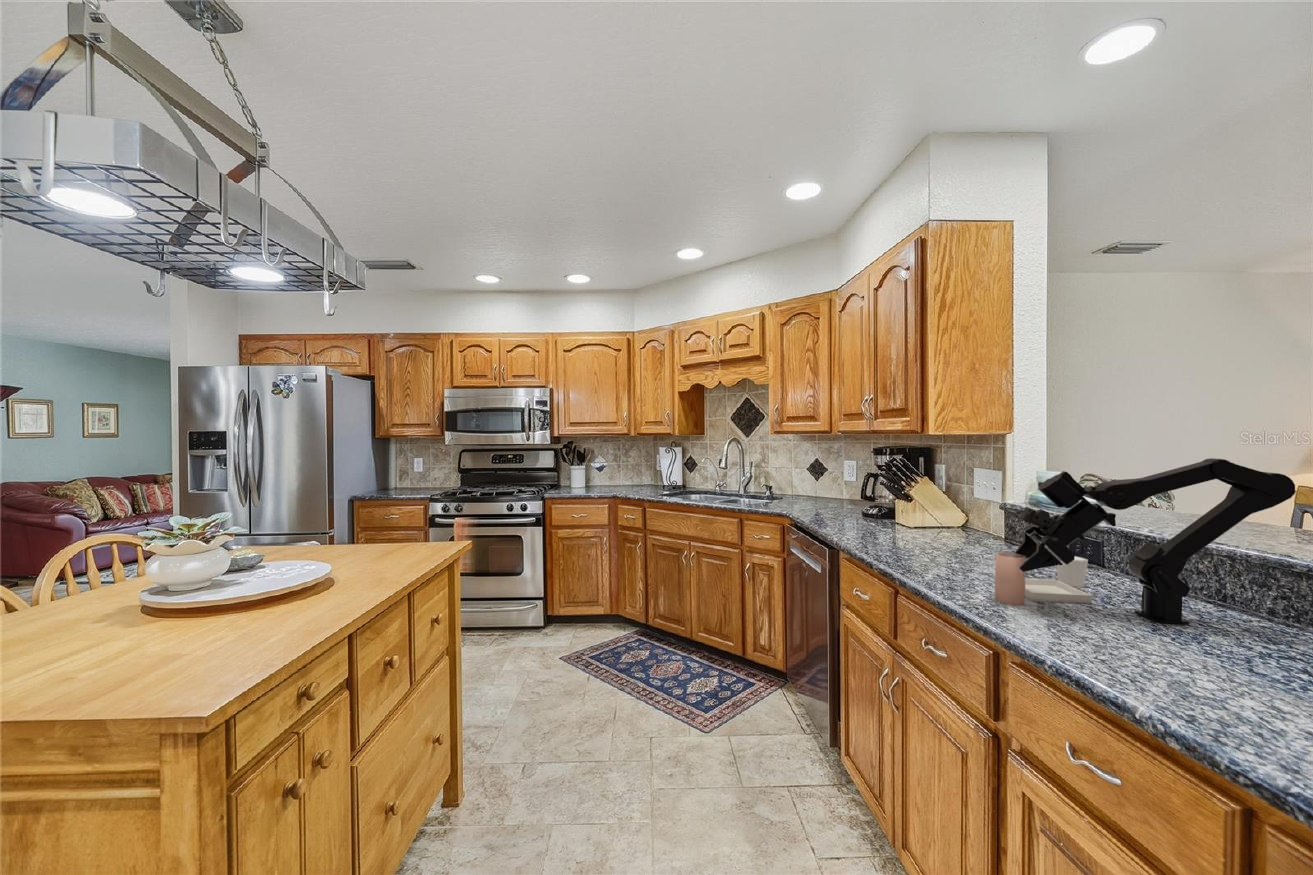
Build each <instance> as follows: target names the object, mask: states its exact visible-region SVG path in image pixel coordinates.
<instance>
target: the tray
mask: <svg viewBox="0 0 1313 875" xmlns="http://www.w3.org/2000/svg"><path fill="white" fill-rule="evenodd" d="M1025 599H1028V600H1029V601H1030V602H1031V601H1032V602H1041V603H1058V604H1059V603H1061V604H1062V603H1063V604H1084V605H1085V604H1088V605H1092V600H1093V596H1092V595H1091V594H1090V593H1087V592H1085V591H1082V590H1080V589H1078V588H1077V587H1076V588H1075V587H1074V586H1069V585H1067V584H1064V583H1062V582H1060V581H1058V579H1044V578H1043V579H1041V578H1025Z"/></svg>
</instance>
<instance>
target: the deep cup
mask: <svg viewBox="0 0 1313 875" xmlns="http://www.w3.org/2000/svg"><path fill="white" fill-rule="evenodd" d="M1026 560H1027V559H1026V556H1024V555H1020V554H1016V553H1015V552H1009V551H1007V552H1006V551H1005V552H1003V551H1000V552H999V551H998V552H995V568H994V570H995V571H994V572H995V573H994V574H995V575H994V600H995V602H999V603H1001V604H1005V605H1010V606H1025V604H1026V597H1025V579H1026V574H1027V573H1026V572H1027V571H1025V572H1023V571H1022V570H1021V569H1020V566H1021V565H1022V564H1023V563H1024V562H1025V561H1026Z"/></svg>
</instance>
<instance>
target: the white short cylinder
mask: <svg viewBox="0 0 1313 875" xmlns="http://www.w3.org/2000/svg"><path fill="white" fill-rule="evenodd" d="M1060 562H1061V563H1062V564H1063V565H1056V572H1057V573H1056V574H1057V580H1058V581H1060V582H1062V583H1064V584H1067V585H1069V586H1071V587H1073V588H1075V587H1076V588H1079V587H1080V588H1083V587H1085V584H1086V583H1085V582H1086V576H1087V570H1088V563H1089V559H1088V558H1084V557H1082V556H1076V555H1075V558H1074V560H1073V561H1072V562H1070V563H1069V564H1068V565H1066V564H1065V563H1063V562H1062V561H1060Z"/></svg>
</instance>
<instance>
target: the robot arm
mask: <svg viewBox="0 0 1313 875" xmlns="http://www.w3.org/2000/svg"><path fill="white" fill-rule="evenodd" d="M1214 480H1218V481H1220V482H1222V483H1224V484H1227V485H1230V487H1229V489H1228V492H1227V493H1226V496H1225V497H1224V499H1223V500H1222V501H1221V502H1219V503H1218V504H1216V505H1215V506H1214V507H1212V508H1211V509H1210V510H1208V511H1207V512H1205V513H1204V514H1203V515H1202V516H1200V517H1199V518H1198V519H1196V520H1195V521H1193V522H1192V523H1191V524H1189V525H1187V526H1186V527H1185V528H1184V529H1182V530H1181V531H1180V532H1178V533H1177V534H1176V535H1174V536H1173V537H1172V538H1170V539H1168V540H1167V541H1166V542H1163V543H1162V544H1158V545H1156V544H1153V543H1151V542H1147V541H1146V543H1145V544H1143V545H1142V547H1141V548H1139V549H1138V550H1136V551H1134V552H1131V555H1133V556H1131V558H1130V559H1129V561H1128V569H1129V571H1130V573H1132V574H1133V576H1135V577H1137V579H1138V582H1139V584H1140V585H1142V591H1141V609H1139V610H1138V609H1135V610H1134V613H1135V614H1137V615H1139V616H1142V617H1144V618H1146V619H1149V620H1150V621H1154V622H1156V623H1161V624H1162V623H1164V624H1186V625H1189V624H1190V622H1191V621H1190V620H1187V619H1184V618H1183V598H1187V596H1188V594H1189V593H1190V590H1191V588H1190V586H1189V585H1187V584H1186V582H1184V581H1183V580H1181V579H1180V578H1179V576H1180V575H1181V574H1182V573H1183V571H1184V569H1185V567H1186V565H1187V562H1189V561H1188V560H1190V559H1191V558H1192V557H1193V556H1194V555H1196V554H1197V553H1199V552H1201V551H1202V550H1203V549H1204V548H1206V547H1207V546H1209V545H1210V544H1211V543H1213V542H1215V541H1216V540H1217V539H1219V538H1220V537H1221V536H1222V535H1224V534H1225V533H1226V532H1228V531H1229V530H1231V529H1232V528H1233V527H1235V526H1236V525H1238V524H1239V523H1241V522H1242V521H1243V520H1245V519H1246V518H1247V517H1249V516H1250V515H1253V514H1255V513H1259V512H1261V511H1265V510H1267V509H1271V508H1275V507H1276V506H1278V505H1280V504H1282V503H1284V502H1286V501H1287V500H1290V499H1291V498H1292V497H1293V496H1294V495H1295V494H1296V493H1297V490H1296V484H1295V482H1294V481H1293V479H1292V478H1291V477H1289V476H1287V475H1286V474H1283V473H1278V472H1277V473H1276V472H1268V471H1260V470H1258V469H1257V470H1256V469H1254V468H1250V467H1248V466H1247V467H1246V466H1244V465H1239V464H1237V463H1234V462H1231V461H1230V460H1227V459H1224V458H1212V457H1210V458H1206V459H1203V460H1202V461H1199V462H1198V461H1197V462H1195V463H1191V464H1188V465H1184V466H1180V467H1176V468H1173V469H1169V470H1165V471H1161V472H1158V473H1155V474H1151V475H1147V476H1144V477H1138V478H1127V479H1117V480H1108V481H1107V480H1106V481H1103V482H1100V483H1098V484H1097V485H1096V486H1082V485H1081V484H1080V483H1079V482H1078V481H1076V480H1075V479H1074V477H1072V474H1070V473H1069V472H1068V471H1065V470H1063V471H1061V472H1060V473H1059V474H1055V475H1054V476H1052V477H1050V478H1047V479H1046V480H1044V481H1043V482H1042V483H1041V484H1040V485H1039V486H1038V488H1037V490H1039V492H1040V493H1042V494H1043V495H1044V496H1045V497H1046V498H1047V499H1048V500H1049V501H1051V502H1052V504H1054V505H1055V507H1057V508H1063V507H1064V508H1065V509H1068V510H1066V511H1065V512H1063V514H1061V515H1058V514H1054V515H1053V516H1051V517H1050V512H1048V511H1047V510H1044V509H1041V508H1040V509H1037V510H1035V509H1034V508H1033V509H1032V508H1031V507H1028V506H1025V508H1024V509H1023V510H1022V513H1021V514H1020V516H1019V519H1021V520H1023V521H1024V522H1026V523H1029V524H1028V525H1026V526H1025V527H1024V528H1022V542H1021V543H1020V545H1019V546H1018V547H1017V549H1016V550H1015V551H1014V553H1016V554H1020V555H1024V556H1026V561H1025V562H1024V563H1023V564H1022V565H1021V566H1020V569H1021V570H1022V571H1023V572H1025V571H1026V572H1029V571H1035V570H1038V569H1039V570H1040V569H1043V568H1044V569H1045V568H1048V567H1055V566H1056V567H1057V565H1063V564H1062V563H1061V562H1060V561H1062V562H1063V563H1065V564H1066V565H1068V564H1069V563H1070V562H1072V561H1073V560H1074V558H1075V556H1076V555H1075V552H1073V551H1072V549H1070V548H1069V547H1068V546H1070V545H1071V544H1073V543H1074V542H1075V541H1078V540H1080V541H1082V540H1084V539H1085V538H1086V536H1084V535H1086V534H1087V533H1088V532H1090V531H1091V530H1093V529H1094V528H1095V527H1097V526H1098V525H1100V524H1101V523H1102V522H1104V523H1105V524H1106V525H1108V526H1112V527H1115V526H1116V525H1117V524H1116V518H1117V514H1116V513H1113V512H1107V511H1106V510H1105V508H1103V507H1102V506H1104V507H1107V508H1110V509H1113V510H1118V511H1121V510H1126V509H1129V508H1131V507H1134V506H1136V505H1138V504H1141V503H1142V502H1144V501H1146V500H1147V499H1148V498H1151V497H1153V496H1155V495H1158V494H1163V493H1167V492H1170V491H1175V490H1179V489H1182V488H1186V487H1190V486H1194V485H1197V484H1198V485H1199V484H1202V483H1206V482H1209V481H1214ZM1086 498H1087V499H1086ZM1088 499H1091V500H1094V501H1096V503H1091V502H1090V501H1089V500H1088ZM1101 505H1102V506H1101Z"/></svg>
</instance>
